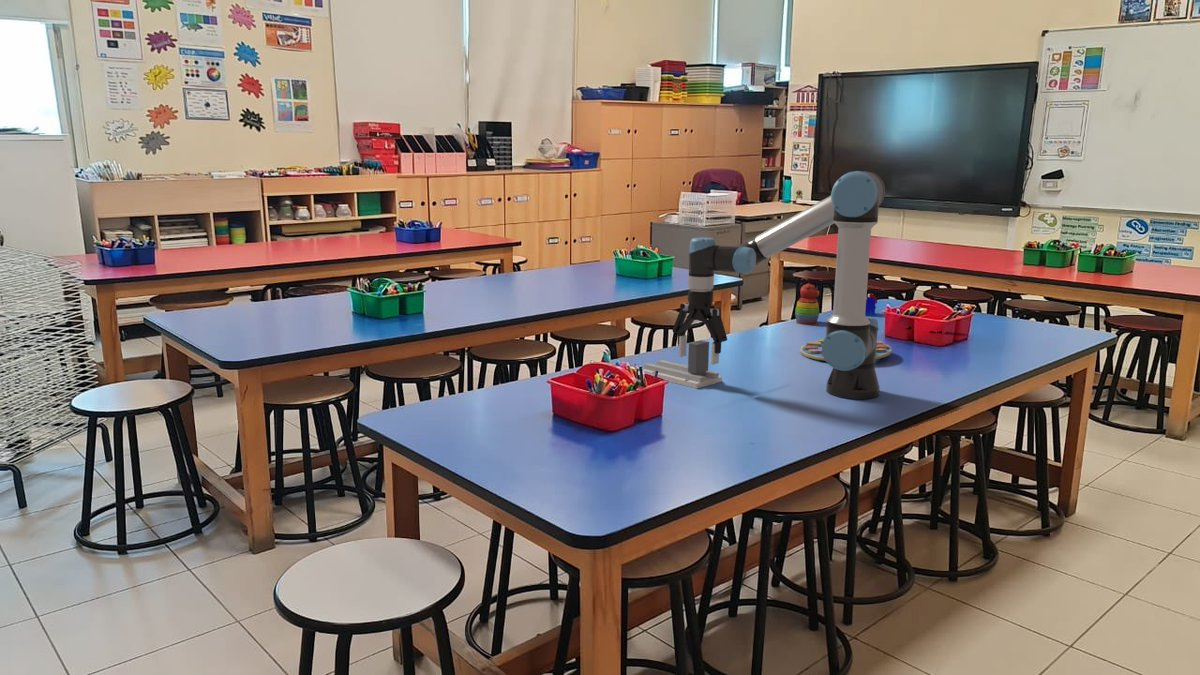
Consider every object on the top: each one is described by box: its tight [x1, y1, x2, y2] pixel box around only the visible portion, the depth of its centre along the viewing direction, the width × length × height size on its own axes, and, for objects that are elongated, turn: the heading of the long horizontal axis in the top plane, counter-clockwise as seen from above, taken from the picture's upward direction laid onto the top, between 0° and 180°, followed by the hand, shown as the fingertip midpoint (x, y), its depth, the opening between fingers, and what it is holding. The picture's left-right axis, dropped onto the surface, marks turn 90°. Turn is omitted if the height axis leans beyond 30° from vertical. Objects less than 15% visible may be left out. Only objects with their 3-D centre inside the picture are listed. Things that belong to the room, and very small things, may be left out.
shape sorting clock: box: [799, 338, 893, 365], centre depth 301 cm, size 31×30×6 cm
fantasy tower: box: [865, 292, 878, 317], centre depth 367 cm, size 12×12×12 cm
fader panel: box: [642, 359, 723, 389], centre depth 270 cm, size 23×12×3 cm, turn 44°
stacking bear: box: [794, 282, 820, 327], centre depth 349 cm, size 11×10×18 cm
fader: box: [687, 340, 710, 376], centre depth 264 cm, size 3×6×11 cm, turn 134°
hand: (698, 360), depth 264 cm, fingers open, 12 cm apart
